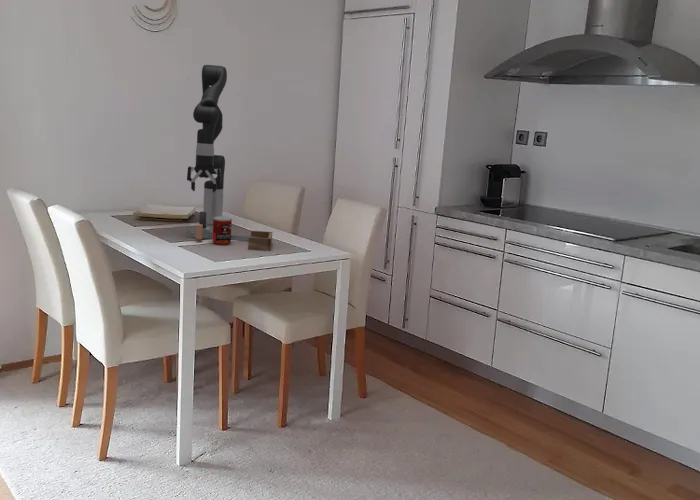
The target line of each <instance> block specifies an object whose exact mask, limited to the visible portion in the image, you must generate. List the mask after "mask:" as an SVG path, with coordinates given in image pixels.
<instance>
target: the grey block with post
mask: <svg viewBox="0 0 700 500" xmlns="http://www.w3.org/2000/svg"><path fill="white" fill-rule="evenodd" d="M206 213H207V212H203V211H199V215H198V216H199V217H198V224H196V226H195V227H194V231H193V232H194V237H196V238H195V240H203V239H207V238H209V233H211V227H210V226H207V224H206Z"/></svg>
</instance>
